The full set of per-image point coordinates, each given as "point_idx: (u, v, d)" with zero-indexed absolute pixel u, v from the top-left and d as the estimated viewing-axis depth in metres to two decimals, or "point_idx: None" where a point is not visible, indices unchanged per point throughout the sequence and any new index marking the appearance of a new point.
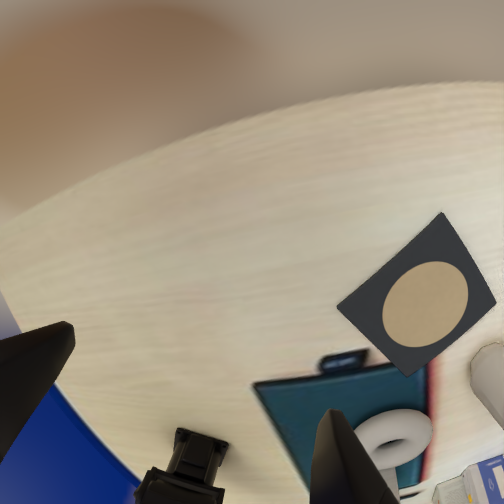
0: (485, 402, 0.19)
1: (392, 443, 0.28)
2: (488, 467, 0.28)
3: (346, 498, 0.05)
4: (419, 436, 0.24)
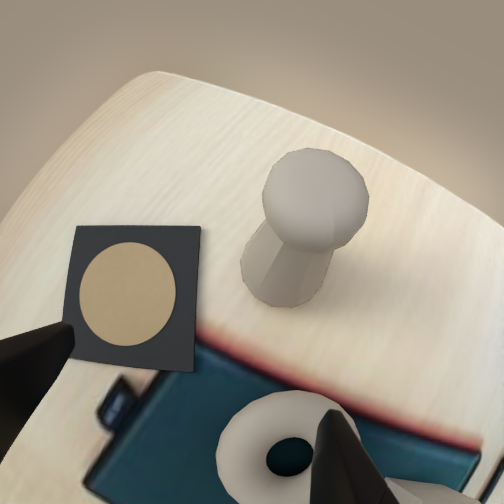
0: (276, 288, 0.18)
1: None
2: None
3: (346, 498, 0.05)
4: (292, 415, 0.17)
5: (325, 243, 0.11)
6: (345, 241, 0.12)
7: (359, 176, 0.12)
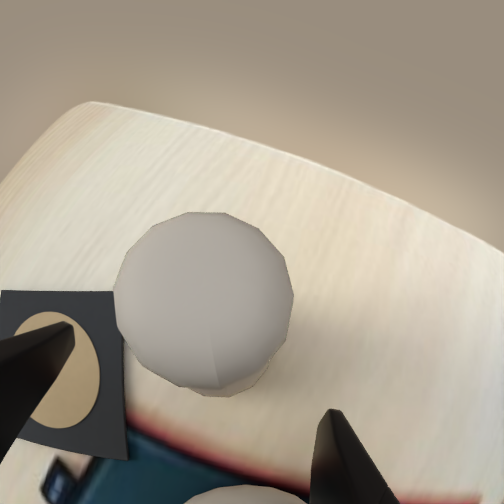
0: None
1: None
2: None
3: (346, 498, 0.05)
4: None
5: (210, 387, 0.06)
6: (250, 375, 0.07)
7: (273, 260, 0.07)
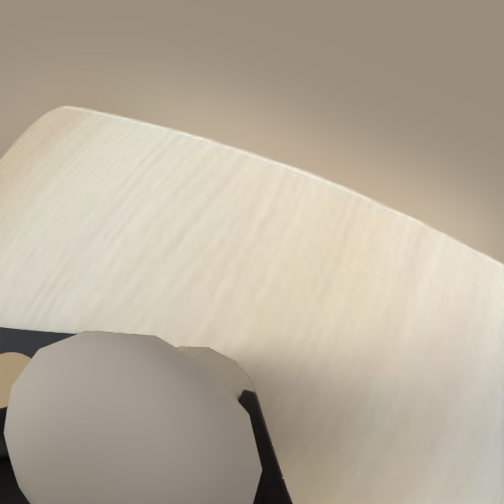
0: None
1: None
2: None
3: None
4: None
5: None
6: None
7: (219, 445, 0.03)
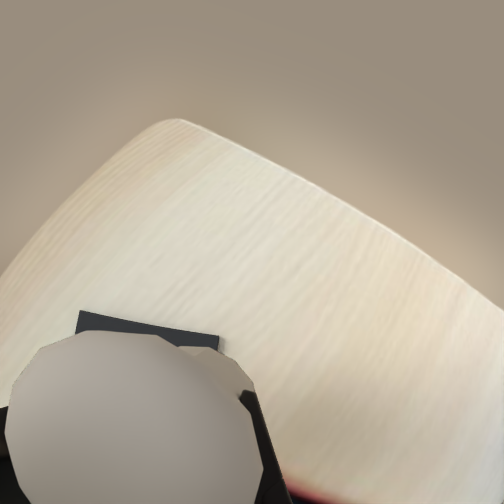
0: None
1: None
2: None
3: None
4: None
5: None
6: None
7: (220, 444, 0.03)
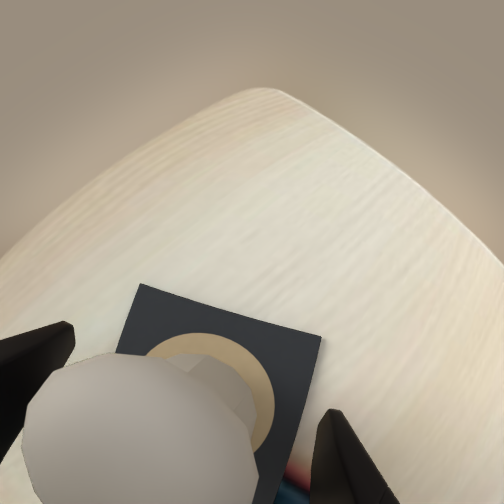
0: None
1: None
2: None
3: (346, 498, 0.05)
4: None
5: None
6: None
7: (220, 457, 0.04)
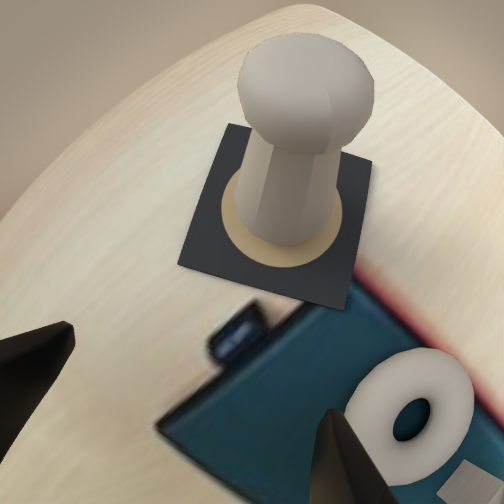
0: (275, 218, 0.15)
1: (425, 426, 0.17)
2: None
3: (346, 498, 0.05)
4: (439, 373, 0.15)
5: (323, 133, 0.08)
6: (350, 133, 0.08)
7: (358, 57, 0.08)
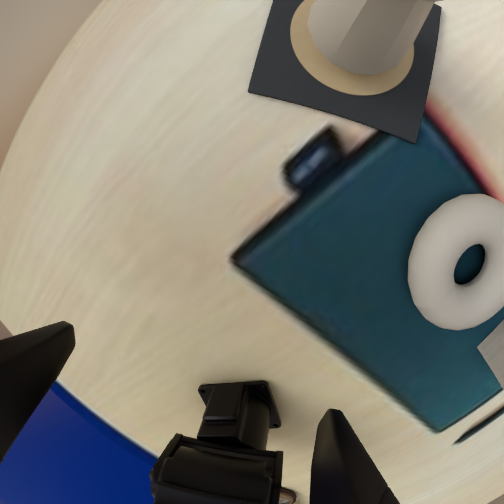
0: (360, 49, 0.11)
1: (478, 274, 0.18)
2: None
3: (346, 498, 0.05)
4: (499, 224, 0.15)
5: None
6: None
7: None
